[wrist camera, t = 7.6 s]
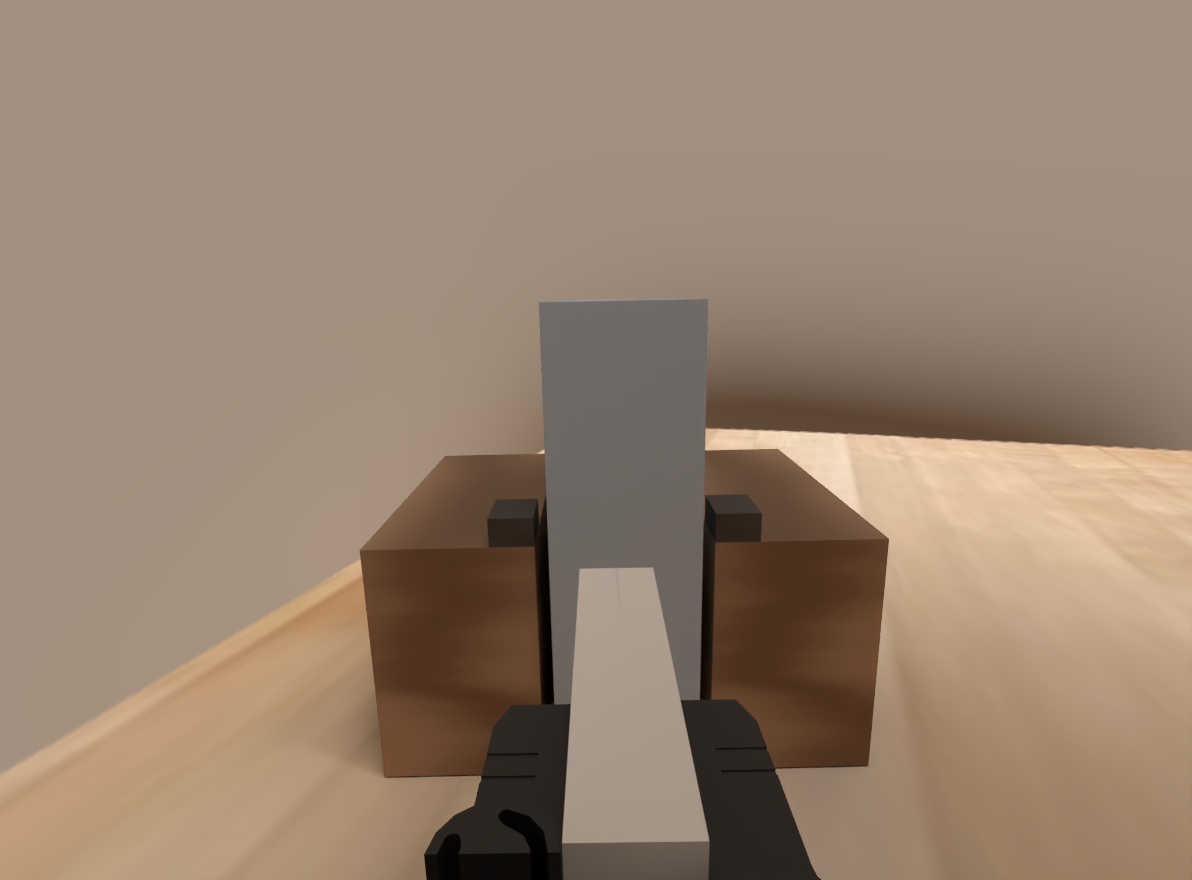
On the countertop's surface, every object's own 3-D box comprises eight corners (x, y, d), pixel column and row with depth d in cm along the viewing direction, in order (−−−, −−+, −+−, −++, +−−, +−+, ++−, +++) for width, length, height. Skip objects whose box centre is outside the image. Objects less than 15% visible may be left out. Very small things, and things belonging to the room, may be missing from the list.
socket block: (770, 601, 28) (778, 430, 26) (868, 765, 18) (891, 510, 16) (456, 608, 28) (443, 437, 26) (384, 776, 18) (356, 521, 16)
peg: (665, 624, 25) (667, 298, 23) (698, 769, 18) (708, 299, 15) (567, 627, 25) (556, 300, 23) (557, 773, 18) (538, 302, 15)
